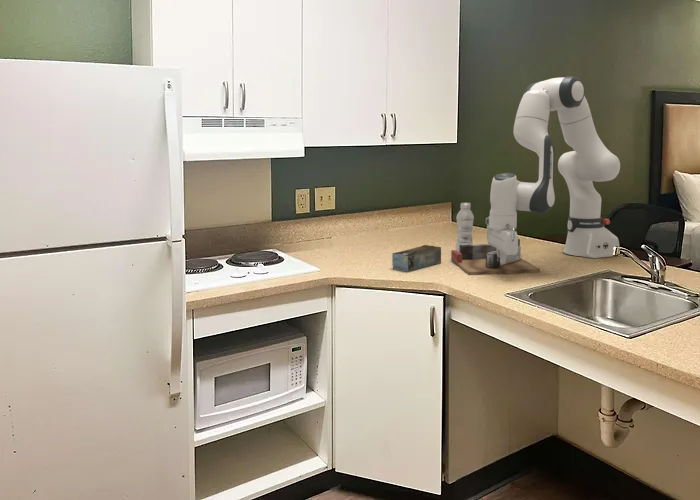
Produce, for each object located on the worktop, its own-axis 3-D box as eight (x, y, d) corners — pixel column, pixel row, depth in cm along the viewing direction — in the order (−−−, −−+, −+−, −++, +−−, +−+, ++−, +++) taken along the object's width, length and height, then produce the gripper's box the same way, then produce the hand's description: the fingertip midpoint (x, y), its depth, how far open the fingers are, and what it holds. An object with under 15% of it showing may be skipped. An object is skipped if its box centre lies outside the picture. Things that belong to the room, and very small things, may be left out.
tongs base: (516, 258, 235) (517, 237, 233) (539, 271, 213) (541, 248, 212) (451, 260, 232) (451, 239, 230) (468, 274, 211) (469, 251, 209)
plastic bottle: (473, 256, 239) (474, 204, 235) (455, 255, 240) (456, 204, 236) (473, 252, 245) (474, 202, 241) (455, 252, 246) (456, 201, 242)
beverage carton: (391, 269, 221) (390, 251, 220) (425, 260, 234) (425, 243, 233) (408, 272, 216) (408, 254, 214) (442, 263, 229) (442, 246, 227)
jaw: (513, 258, 228) (513, 245, 227) (521, 260, 226) (521, 246, 225) (485, 267, 216) (486, 253, 215) (493, 268, 214) (494, 254, 213)
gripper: (523, 227, 199) (522, 269, 202) (501, 217, 219) (500, 256, 222) (504, 228, 198) (503, 270, 201) (484, 218, 218) (482, 256, 221)
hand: (501, 262), depth 212 cm, fingers closed
